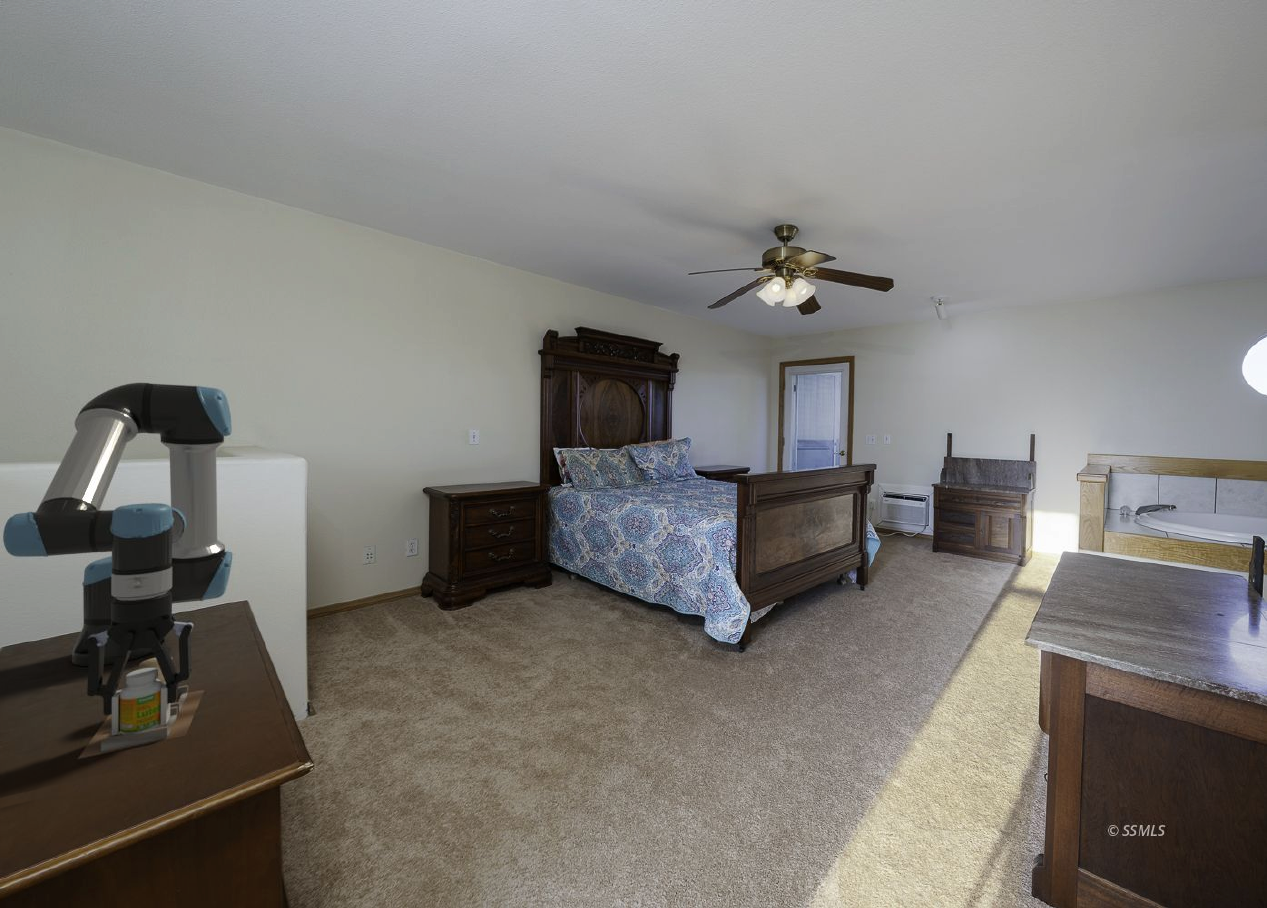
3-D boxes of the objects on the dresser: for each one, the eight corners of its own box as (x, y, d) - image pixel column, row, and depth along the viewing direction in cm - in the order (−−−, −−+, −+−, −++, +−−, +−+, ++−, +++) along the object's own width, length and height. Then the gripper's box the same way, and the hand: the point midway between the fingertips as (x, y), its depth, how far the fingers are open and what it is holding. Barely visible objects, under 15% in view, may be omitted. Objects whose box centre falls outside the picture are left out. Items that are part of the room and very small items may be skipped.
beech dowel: (142, 705, 96) (142, 659, 96) (174, 700, 98) (174, 654, 98) (135, 717, 92) (135, 669, 92) (168, 711, 94) (169, 663, 94)
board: (115, 712, 96) (115, 696, 95) (204, 695, 103) (204, 681, 102) (77, 766, 80) (77, 747, 80) (185, 742, 87) (185, 725, 87)
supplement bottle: (135, 739, 84) (135, 682, 84) (110, 734, 85) (111, 677, 85) (171, 721, 90) (171, 667, 89) (147, 717, 91) (147, 664, 90)
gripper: (55, 608, 79) (55, 754, 80) (207, 593, 89) (206, 722, 89) (74, 595, 85) (74, 729, 86) (215, 581, 95) (213, 702, 96)
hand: (141, 725), depth 88 cm, fingers closed on supplement bottle, 5 cm apart
